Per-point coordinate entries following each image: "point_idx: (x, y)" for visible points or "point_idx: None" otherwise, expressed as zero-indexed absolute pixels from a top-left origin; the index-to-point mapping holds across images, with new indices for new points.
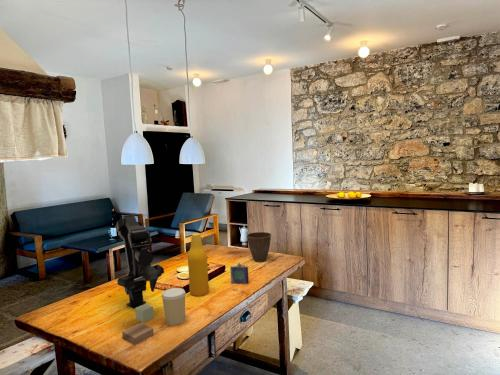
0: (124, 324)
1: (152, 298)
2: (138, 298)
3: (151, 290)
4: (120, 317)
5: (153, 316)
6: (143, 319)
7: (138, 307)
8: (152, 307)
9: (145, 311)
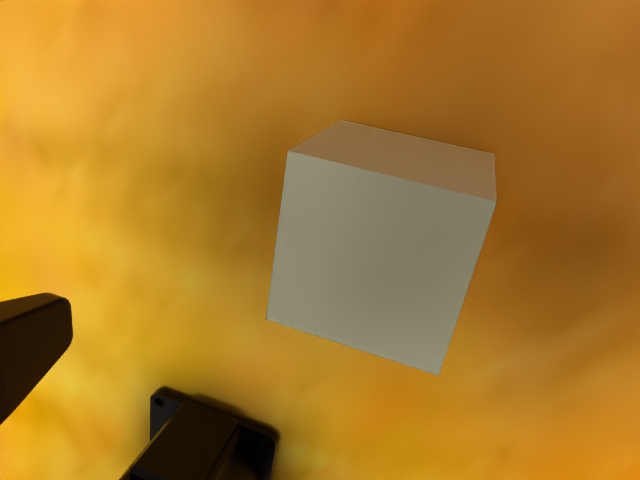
0: (602, 343)
1: (77, 387)
2: (192, 476)
3: (53, 352)
4: (469, 461)
5: (338, 123)
6: (488, 163)
7: (404, 343)
8: (300, 150)
9: (439, 179)
